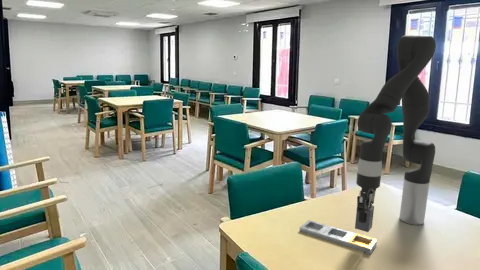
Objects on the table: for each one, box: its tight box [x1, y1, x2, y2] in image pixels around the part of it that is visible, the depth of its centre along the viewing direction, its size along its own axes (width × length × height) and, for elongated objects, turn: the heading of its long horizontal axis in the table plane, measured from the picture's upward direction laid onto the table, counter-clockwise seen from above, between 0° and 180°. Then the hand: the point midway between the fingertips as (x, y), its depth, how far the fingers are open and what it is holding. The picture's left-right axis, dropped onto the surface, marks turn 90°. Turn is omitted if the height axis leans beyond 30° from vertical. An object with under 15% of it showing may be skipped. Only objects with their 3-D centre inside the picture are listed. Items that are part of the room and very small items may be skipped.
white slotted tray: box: [299, 219, 378, 256], centre depth 132 cm, size 8×26×2 cm, turn 55°
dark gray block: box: [354, 204, 375, 233], centre depth 125 cm, size 4×4×9 cm
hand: (364, 219), depth 125 cm, fingers closed on dark gray block, 4 cm apart
